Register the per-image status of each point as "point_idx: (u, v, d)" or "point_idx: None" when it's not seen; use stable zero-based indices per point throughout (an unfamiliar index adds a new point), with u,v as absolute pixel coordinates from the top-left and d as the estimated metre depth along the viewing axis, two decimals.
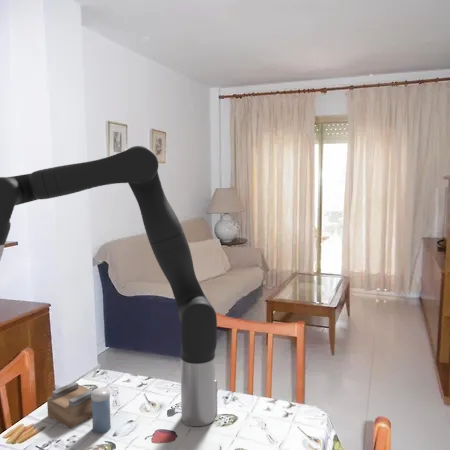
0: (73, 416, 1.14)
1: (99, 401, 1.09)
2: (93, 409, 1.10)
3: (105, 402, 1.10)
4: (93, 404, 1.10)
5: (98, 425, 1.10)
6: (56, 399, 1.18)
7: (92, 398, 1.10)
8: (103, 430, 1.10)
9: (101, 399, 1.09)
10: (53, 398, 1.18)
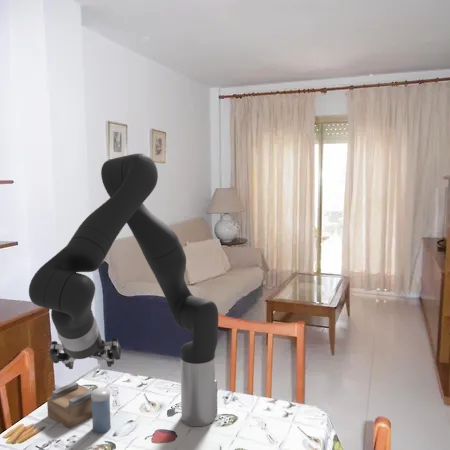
0: (73, 416, 1.14)
1: (99, 401, 1.09)
2: (93, 409, 1.10)
3: (105, 402, 1.10)
4: (93, 404, 1.10)
5: (98, 425, 1.10)
6: (56, 399, 1.18)
7: (92, 398, 1.10)
8: (103, 430, 1.10)
9: (101, 399, 1.09)
10: (53, 398, 1.18)
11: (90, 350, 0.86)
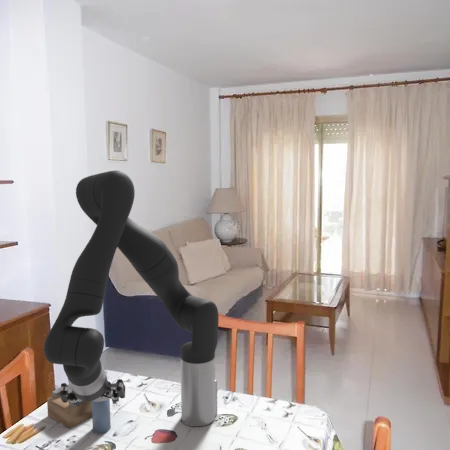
0: (73, 416, 1.14)
1: (99, 401, 1.09)
2: (93, 409, 1.10)
3: (105, 402, 1.10)
4: (93, 404, 1.10)
5: (98, 425, 1.10)
6: (56, 399, 1.18)
7: None
8: (103, 430, 1.10)
9: (101, 399, 1.09)
10: (53, 398, 1.18)
11: (97, 394, 0.93)
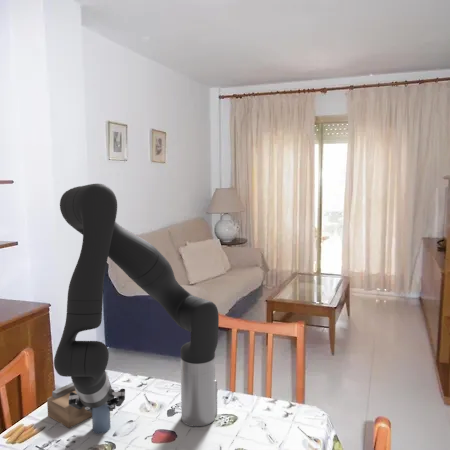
0: (73, 416, 1.14)
1: None
2: (93, 409, 1.10)
3: None
4: None
5: (98, 425, 1.10)
6: (56, 399, 1.18)
7: None
8: (103, 430, 1.10)
9: None
10: (53, 398, 1.18)
11: (102, 401, 1.01)
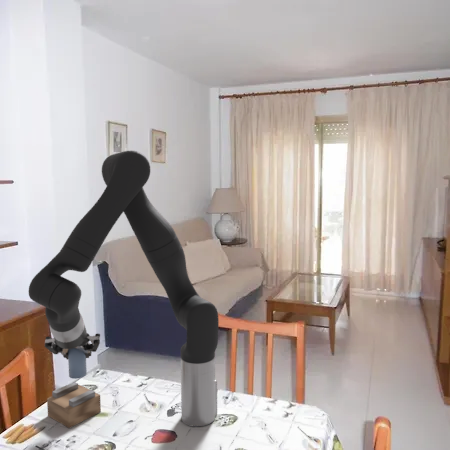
0: (73, 416, 1.14)
1: None
2: (69, 355, 1.13)
3: None
4: (69, 350, 1.13)
5: (74, 370, 1.13)
6: (56, 399, 1.18)
7: None
8: (79, 375, 1.14)
9: None
10: (53, 398, 1.18)
11: (77, 342, 1.04)
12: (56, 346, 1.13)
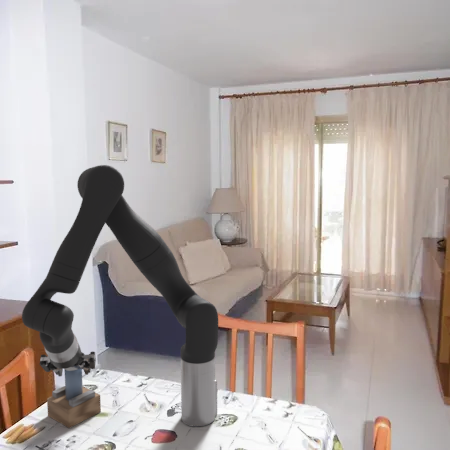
0: (73, 416, 1.14)
1: (71, 370, 1.16)
2: (66, 378, 1.17)
3: (77, 371, 1.17)
4: (66, 373, 1.17)
5: (70, 393, 1.17)
6: (56, 399, 1.18)
7: None
8: None
9: (73, 368, 1.16)
10: (53, 398, 1.18)
11: (71, 362, 1.07)
12: (48, 364, 1.15)
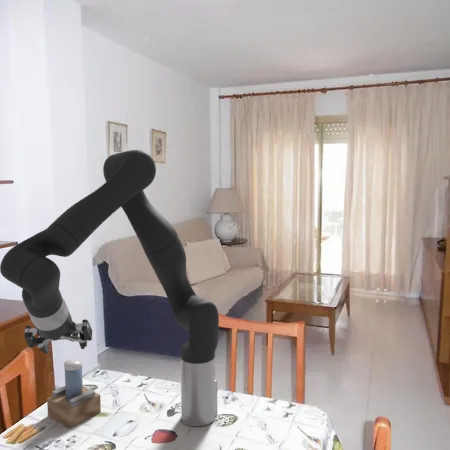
0: (73, 416, 1.14)
1: (71, 370, 1.16)
2: (66, 378, 1.17)
3: (77, 371, 1.17)
4: (66, 373, 1.16)
5: (70, 393, 1.17)
6: (56, 399, 1.18)
7: (65, 367, 1.16)
8: None
9: (73, 368, 1.16)
10: (53, 398, 1.18)
11: (61, 330, 0.93)
12: (32, 338, 1.01)
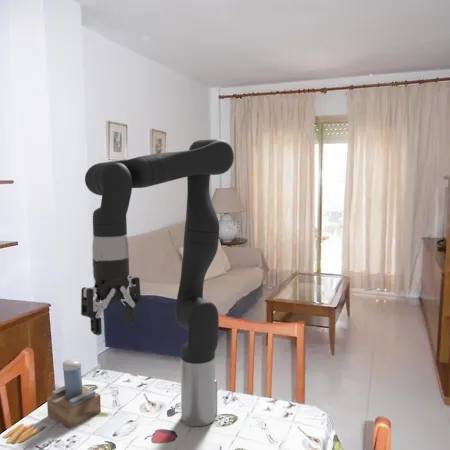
0: (73, 416, 1.14)
1: (69, 370, 1.16)
2: (65, 378, 1.17)
3: (75, 371, 1.16)
4: (64, 373, 1.16)
5: (69, 393, 1.17)
6: (56, 399, 1.18)
7: (63, 367, 1.16)
8: None
9: (71, 368, 1.16)
10: (53, 398, 1.18)
11: (128, 265, 0.93)
12: (86, 310, 0.89)
